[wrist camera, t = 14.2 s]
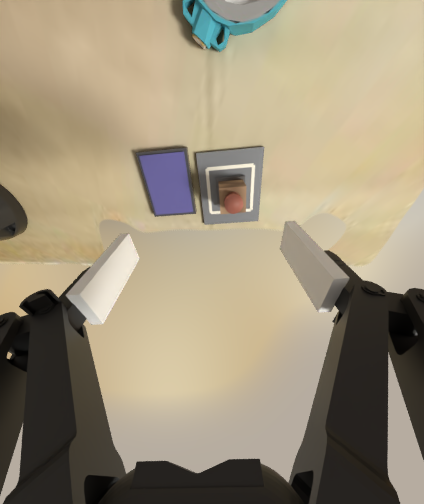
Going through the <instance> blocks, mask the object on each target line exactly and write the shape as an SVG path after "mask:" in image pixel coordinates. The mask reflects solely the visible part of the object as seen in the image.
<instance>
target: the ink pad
mask: <svg viewBox="0 0 424 504" xmlns="http://www.w3.org/2000/svg"><path fill="white" fill-rule="evenodd" d="M136 155H137V158H138V162H139V165H140V168H141V172H142V175H143V178H144V182H145V185H146V189H147V192H148V195H149V199H150V202H151V205H152V209H153V212H154V215H155V217H156V216H170V215H184V214H196V205H195V198H194V191H193V184H192V177H191V170H190V163H189V156H188V149H187V147H186V148H176V149H166V150H156V151H146V152H137V153H136Z"/></svg>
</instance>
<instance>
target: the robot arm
mask: <svg viewBox="0 0 424 504" xmlns="http://www.w3.org/2000/svg"><path fill="white" fill-rule="evenodd" d="M26 228H27V217H26V214H25V212H24V210H23V208H22V206H21V205H20V203H19V202H18V201H17V200H16V199H15V197H14V196H13V195H12V194H11V193H10V192H9V191H7V190H6V189H5V188H4V187H3V186H1V185H0V241H1V240H7V239H10V238H13V237H15V236H17V235H19V234H21V233H23V232H24V231H25V230H26ZM280 250H281V252H282V253H283V255H284V257H285V258H286V260H287V262H288V263H289V265H290V267H291V268H292V270H293V272H294V273H295V275H296V277H297V278H298V280H299V282H300V283H301V285H302V287H303V288H304V290H305V291H306V293H307V295H308V297H309V298H310V300H311V301H312V303H313V305H314V307H315V308H316V310H317V311H318V312H331V310H332V309H333V307H334V305H335V306H336V307H337V309H338V310H339V312H338V313H337V315H336V317H335V318H334V320H333V322H334V327H333V331H332V334H331V338H330V342H329V346H328V350H327V353H326V357H325V360H324V364H323V368H322V372H321V375H320V379H319V383H318V387H317V391H316V394H315V398H314V401H313V405H312V409H311V413H310V416H309V420H308V424H307V428H306V431H305V435H304V438H303V442H302V444H301V446H300V449H299V451H298V453H297V456H296V459H295V462H294V465H293V469H292V472H291V476H290V480H289V483H288V482H287V481H286V480H285V479H284V478H283V477H282V476H280V475H279V474H278V473H277V472H275V471H274V470H272V469H271V468H269V467H267V466H265V465H263V464H261V463H260V459H232V460H227V461H225V462H223V463H220V464H218V465H216V466H214V467H212V468H210V469H207V470H205V471H203V472H201V473H195V472H192V471H190V470H188V469H185V468H183V467H181V466H178V465H176V464H173V463H170V462H168V461H145V462H137V463H136V467H135V469H133V470H132V471H130V472H129V473H127V474H126V472H125V469H124V465H123V462H122V460H121V457H120V456H119V454H118V452H117V451H116V449H115V447H114V444H113V441H112V437H111V432H110V428H109V424H108V420H107V416H106V411H105V407H104V403H103V399H102V395H101V391H100V387H99V382H98V378H97V374H96V369H95V365H94V361H93V357H92V353H91V349H90V344H89V340H88V336H87V332H86V328H85V326H84V325H83V323H84V322H85V320H86V319H87V320H88V321H89V322H90V324H91V325H92V324H103V323H104V321H105V319H106V318H107V316H108V314H109V313H110V311H111V309H112V307H113V305H114V304H115V302H116V300H117V298H118V296H119V295H120V293H121V291H122V289H123V288H124V286H125V284H126V282H127V280H128V279H129V277H130V275H131V273H132V271H133V270H134V268H135V266H136V264H137V262H138V261H139V259H140V258H139V256H138V254H137V251H136V249H135V246H134V244H133V242H132V239H131V237H130V235H129V233H124V234H120V235H119V236H118V237H117V238H116V239H115V240H114V242H113V243H112V244H111V245H110V246H109V247H108V248H107V249H106V250H105V251H104V253H103V254H102V255H101V256H100V257H99V258H98V259H97V260H96V262H95V263H94V264H93V265H92V266H91V267H89V268H87V269H86V270H85V271H83V272H82V273H81V274H80V275H79V276H78V277H77V279H75V280H74V281H73V283H72V284H71V285H70V286H69V287H68V288H67V289H66V290H65V291H64V292H63V293H62V295H61V296H60V297H59V298H58V297H57V296H56V295H55V294H54V293H53V292H52V291H51V290H48V289H46V290H41V291H38V292H36V293H34V294H32V295H30V296H28V297H27V298H26V299H24V300H23V301H22V302H21V304H20V306H19V307H20V308H21V309H23V310H24V311H25V312H26V313H27V314H29V315H26V316H22V317H20V316H18V315H17V314H16V313H14V312H9V313H5V314H3V315H0V494H1V491H2V488H3V485H4V481H5V478H6V475H7V472H8V468H9V465H10V462H11V459H12V456H13V453H14V449H15V446H16V443H17V440H18V437H19V433H20V430H21V427H22V424H23V435H22V449H21V463H20V477H19V481H18V483H17V486H16V488H15V489H14V490H13V491H12V492H11V493H10V494H9V495H8V496H7V497H6V499H5V501H4V503H3V504H400V502H399V498H398V495H397V492H396V490H395V489H394V487H393V485H392V484H391V482H390V480H389V477H388V469H387V450H388V445H387V444H388V443H387V442H388V441H387V440H388V438H387V437H388V352H389V355H390V358H391V361H392V364H393V367H394V370H395V373H396V377H397V379H398V382H399V386H400V389H401V392H402V395H403V398H404V401H405V404H406V407H407V410H408V413H409V416H410V420H411V423H412V426H413V429H414V432H415V435H416V438H417V441H418V444H419V447H420V450H421V454H422V457H423V460H424V290H423V289H417V288H412V289H409V290H408V291H407V292H406V293H405V294H404V295H403V294H397V293H391V292H386V290H385V289H384V288H382V287H381V286H379V285H377V284H375V283H373V282H369V281H363V280H362V279H361V278H360V277H359V276H358V275H357V274H356V273H355V272H354V271H353V270H352V269H351V268H350V267H348V266H347V265H346V264H345V263H344V262H343V261H342V260H341V259H340V258H339V257H338V256H337V255H336V254H334V253H332V252H330V251H329V250H328V251H323V250H322V249H321V248H320V247H319V246H318V245H317V244H316V242H315V241H313V239H312V238H311V237H310V236H309V235H308V234H307V233H306V232H305V231H304V230H303V229H302V228H301V227H300V226H299V225H298V224H297V223H296V222H295V221H286V222H285V225H284V231H283V236H282V241H281V246H280ZM8 352H10V353H12V356H11V358H10V359H7V353H8Z"/></svg>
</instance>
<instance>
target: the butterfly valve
mask: <svg viewBox="0 0 424 504" xmlns="http://www.w3.org/2000/svg"><path fill="white" fill-rule="evenodd" d="M194 1H195V4H194V9H193V13H192V17H191V15H190V14H189V12H188V10H187V9H188V8H189V6H190V5H191V4H192V3H193V2H194ZM286 1H287V0H183V14H184V16H185V18H186V20H187V21H188V22H189V23H190V25H191V26H192V37H193V38H194V40H195V41H196V42H197V43H198V44H199V45H200V46H201V47H202V48H203V49H204V50H206V48H208V49H209V48H210V47H211V46H212V47H214V48H215V49H217V50H218V51H219V52H221V51H222V50H223V49H224V48H226V45H227V41H228V38H229V34H232V35H235V36H236V35H241V34H247V33H251V32H253V31H254V30H256V29H257V28H259V27H260V26H262V25H263V24H265V23H266V22H268V21H269V20H270V19H272V18H273V17H274V16H275V15H276V14H277V13H278V11H279V10H280V9H281V7H282V6H283V5H284V4H285V2H286ZM222 29H223V30H224V42H222V43H221V44H219V45H218V44H217V41H216V39H217V37H218V35H219V34H220V32H221V31H222Z"/></svg>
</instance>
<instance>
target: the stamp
mask: <svg viewBox="0 0 424 504" xmlns="http://www.w3.org/2000/svg"><path fill="white" fill-rule="evenodd" d="M216 191H217V205H218V207H220V213H221V214H236V213H244V212H246V184H245V175H240V176H229V177H219V178H216Z"/></svg>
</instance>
